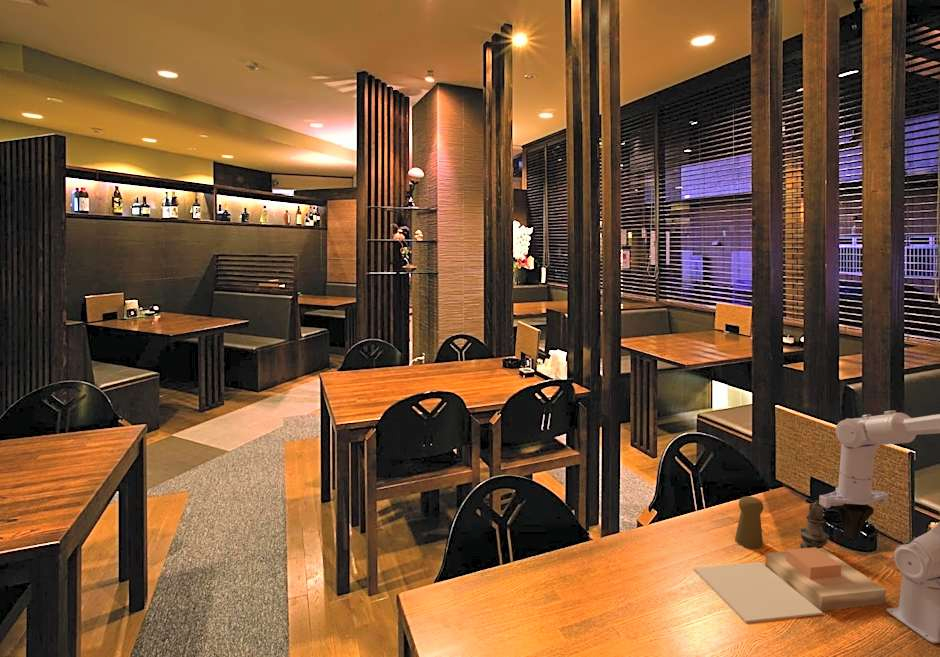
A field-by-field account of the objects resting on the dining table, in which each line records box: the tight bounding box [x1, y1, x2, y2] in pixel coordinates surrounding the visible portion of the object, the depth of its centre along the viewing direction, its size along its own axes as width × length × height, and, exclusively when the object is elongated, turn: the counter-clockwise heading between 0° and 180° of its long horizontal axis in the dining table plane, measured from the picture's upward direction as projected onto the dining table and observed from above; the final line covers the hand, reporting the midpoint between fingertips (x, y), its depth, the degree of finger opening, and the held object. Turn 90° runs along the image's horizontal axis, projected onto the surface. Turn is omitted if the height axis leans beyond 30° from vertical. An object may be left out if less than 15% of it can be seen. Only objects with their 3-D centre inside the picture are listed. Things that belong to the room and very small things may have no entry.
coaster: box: [785, 547, 842, 579], centre depth 116 cm, size 7×7×2 cm
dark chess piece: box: [799, 499, 830, 550], centre depth 129 cm, size 6×6×12 cm
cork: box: [734, 496, 764, 550], centre depth 132 cm, size 6×6×11 cm
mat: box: [693, 561, 824, 624], centre depth 113 cm, size 18×16×1 cm
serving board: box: [764, 547, 887, 612], centre depth 115 cm, size 16×14×3 cm
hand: (850, 536), depth 116 cm, fingers closed
